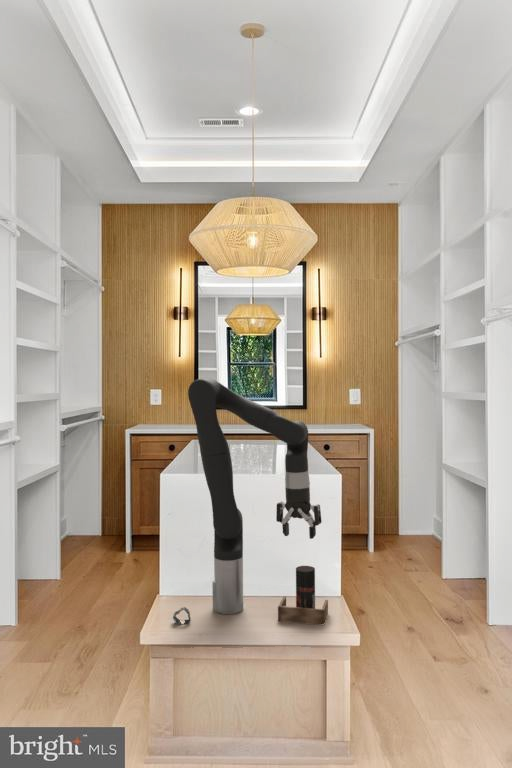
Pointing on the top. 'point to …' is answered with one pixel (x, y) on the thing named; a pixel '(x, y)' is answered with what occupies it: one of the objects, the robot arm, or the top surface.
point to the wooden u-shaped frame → (302, 613)
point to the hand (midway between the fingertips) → (299, 536)
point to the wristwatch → (178, 613)
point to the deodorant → (305, 587)
